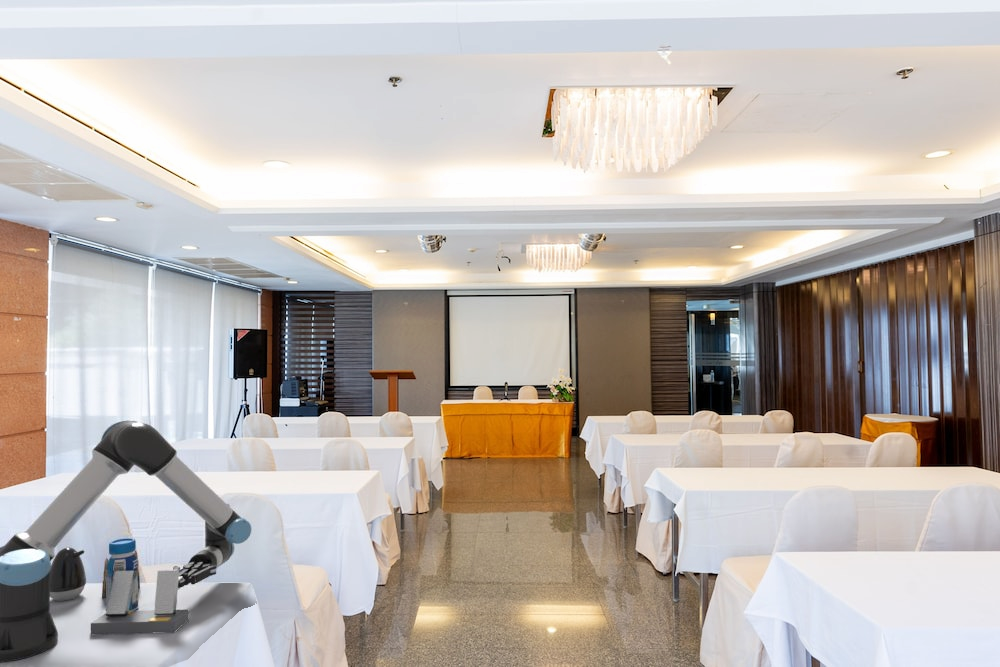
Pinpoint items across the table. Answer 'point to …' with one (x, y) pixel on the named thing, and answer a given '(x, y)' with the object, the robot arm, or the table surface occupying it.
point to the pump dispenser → (67, 575)
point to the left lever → (121, 593)
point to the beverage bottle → (122, 566)
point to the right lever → (166, 592)
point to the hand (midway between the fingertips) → (169, 589)
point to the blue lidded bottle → (105, 579)
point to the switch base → (139, 622)
